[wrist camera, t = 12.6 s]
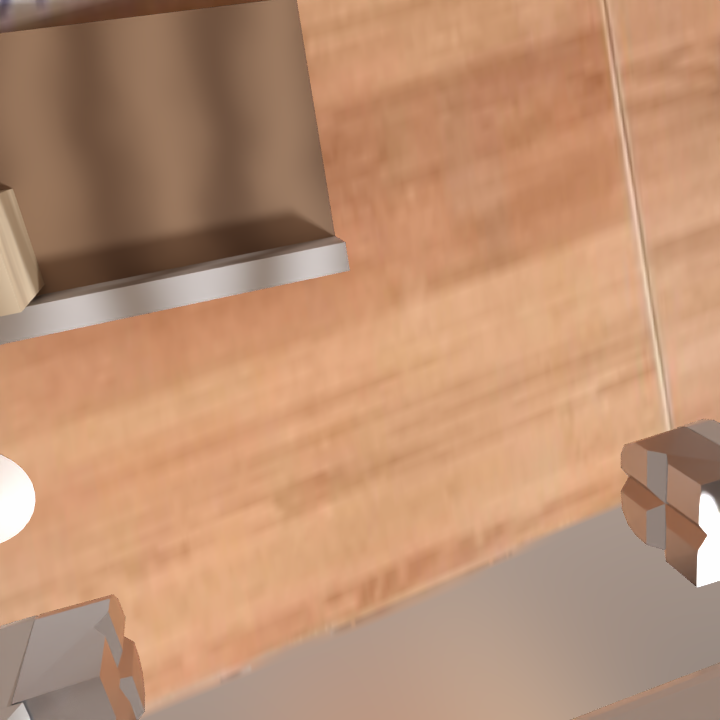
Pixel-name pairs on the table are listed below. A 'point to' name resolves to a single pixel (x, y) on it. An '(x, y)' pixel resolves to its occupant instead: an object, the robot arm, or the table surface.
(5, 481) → the champagne flute
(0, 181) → the walnut board
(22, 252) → the marking gauge
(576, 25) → the table surface
